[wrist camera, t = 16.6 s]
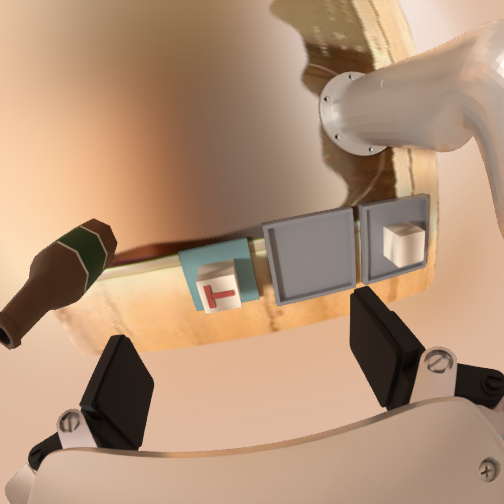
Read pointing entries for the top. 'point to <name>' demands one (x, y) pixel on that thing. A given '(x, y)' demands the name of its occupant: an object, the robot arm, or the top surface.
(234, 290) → the letter cube
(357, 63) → the top surface
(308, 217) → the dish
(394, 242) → the plain cube
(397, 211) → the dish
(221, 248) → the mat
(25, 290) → the beer bottle
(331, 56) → the top surface
